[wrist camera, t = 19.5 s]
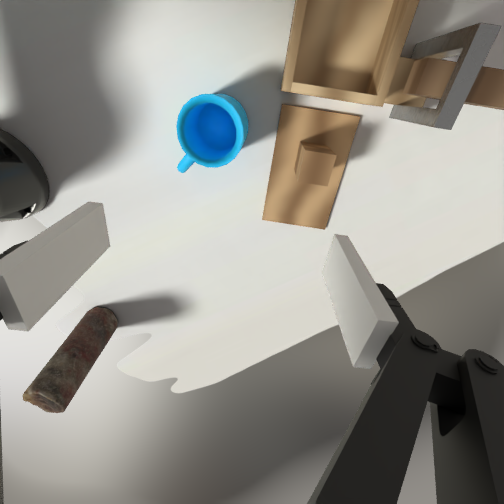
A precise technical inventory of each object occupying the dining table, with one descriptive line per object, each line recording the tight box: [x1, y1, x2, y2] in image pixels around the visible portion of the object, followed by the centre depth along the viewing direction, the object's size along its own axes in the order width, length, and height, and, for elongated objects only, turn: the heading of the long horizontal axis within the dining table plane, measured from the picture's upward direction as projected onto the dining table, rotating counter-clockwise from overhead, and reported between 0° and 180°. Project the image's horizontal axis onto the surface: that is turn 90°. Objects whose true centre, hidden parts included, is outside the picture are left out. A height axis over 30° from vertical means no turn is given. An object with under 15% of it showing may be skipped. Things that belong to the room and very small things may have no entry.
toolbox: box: [281, 0, 426, 107], centre depth 29 cm, size 19×18×6 cm
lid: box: [262, 104, 360, 229], centre depth 39 cm, size 11×18×8 cm, turn 172°
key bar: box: [402, 58, 504, 110], centre depth 27 cm, size 12×3×3 cm, turn 82°
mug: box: [177, 94, 248, 173], centre depth 36 cm, size 12×8×8 cm
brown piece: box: [23, 307, 117, 413], centre depth 53 cm, size 8×7×20 cm
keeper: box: [389, 23, 501, 130], centre depth 30 cm, size 2×8×12 cm, turn 172°
